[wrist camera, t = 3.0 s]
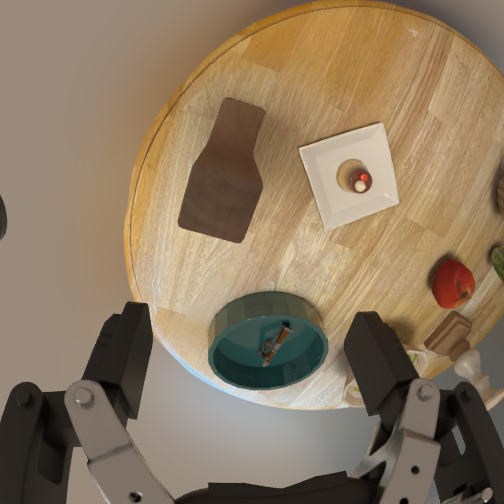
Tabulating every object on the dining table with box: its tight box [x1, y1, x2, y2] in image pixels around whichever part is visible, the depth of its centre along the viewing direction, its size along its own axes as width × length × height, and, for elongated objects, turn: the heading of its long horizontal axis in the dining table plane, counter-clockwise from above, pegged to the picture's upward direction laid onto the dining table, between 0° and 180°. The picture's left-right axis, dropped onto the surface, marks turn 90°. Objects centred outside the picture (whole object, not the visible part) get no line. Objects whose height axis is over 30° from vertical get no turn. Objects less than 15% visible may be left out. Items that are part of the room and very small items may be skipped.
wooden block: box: [178, 98, 265, 243], centre depth 24 cm, size 9×4×18 cm, turn 161°
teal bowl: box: [208, 292, 328, 390], centre depth 46 cm, size 20×20×6 cm
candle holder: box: [424, 311, 504, 411], centre depth 44 cm, size 11×11×24 cm
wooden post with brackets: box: [258, 323, 294, 367], centre depth 47 cm, size 2×8×4 cm, turn 144°
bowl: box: [341, 344, 428, 407], centre depth 49 cm, size 19×19×10 cm
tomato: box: [432, 260, 475, 309], centre depth 41 cm, size 9×9×8 cm
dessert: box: [299, 123, 399, 231], centre depth 33 cm, size 12×12×5 cm
